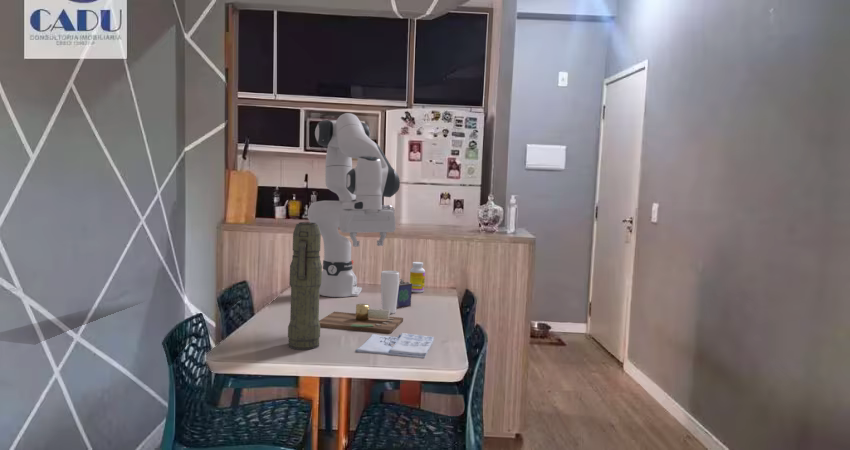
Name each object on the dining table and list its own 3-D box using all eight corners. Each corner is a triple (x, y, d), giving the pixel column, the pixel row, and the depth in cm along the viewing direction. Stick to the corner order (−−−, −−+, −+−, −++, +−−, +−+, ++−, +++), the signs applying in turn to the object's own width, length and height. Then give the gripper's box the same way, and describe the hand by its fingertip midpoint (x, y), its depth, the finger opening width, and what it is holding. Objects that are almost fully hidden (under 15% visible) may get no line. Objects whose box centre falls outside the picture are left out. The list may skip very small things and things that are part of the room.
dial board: (334, 314, 198) (334, 310, 198) (403, 321, 193) (403, 316, 193) (315, 326, 181) (315, 322, 181) (390, 334, 176) (390, 329, 176)
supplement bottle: (424, 293, 245) (425, 264, 244) (408, 292, 245) (410, 263, 244) (424, 290, 252) (425, 261, 251) (409, 289, 252) (410, 261, 251)
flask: (394, 309, 212) (395, 280, 211) (389, 307, 214) (390, 279, 213) (412, 306, 218) (413, 278, 218) (407, 304, 220) (408, 277, 220)
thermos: (284, 351, 154) (288, 223, 151) (290, 339, 165) (293, 221, 163) (317, 351, 155) (321, 225, 152) (321, 339, 166) (324, 222, 164)
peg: (353, 320, 187) (354, 305, 187) (358, 317, 191) (358, 303, 191) (387, 323, 185) (387, 308, 185) (390, 320, 189) (391, 306, 189)
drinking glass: (395, 315, 202) (397, 273, 201) (377, 313, 203) (378, 272, 202) (400, 311, 208) (401, 271, 207) (382, 309, 210) (384, 269, 209)
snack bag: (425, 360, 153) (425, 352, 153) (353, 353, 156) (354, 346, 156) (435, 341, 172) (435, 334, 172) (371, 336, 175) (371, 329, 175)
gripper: (389, 205, 196) (388, 244, 196) (337, 204, 183) (336, 246, 184) (399, 205, 191) (399, 245, 191) (347, 203, 178) (346, 247, 179)
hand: (368, 246), depth 187 cm, fingers open, 8 cm apart
